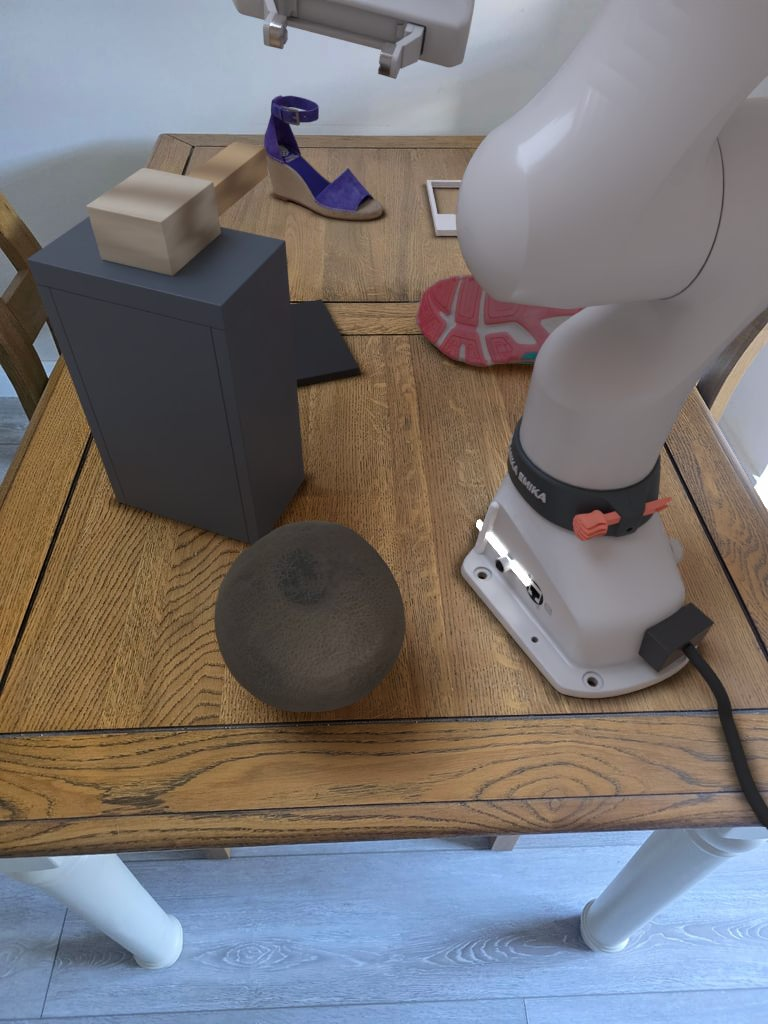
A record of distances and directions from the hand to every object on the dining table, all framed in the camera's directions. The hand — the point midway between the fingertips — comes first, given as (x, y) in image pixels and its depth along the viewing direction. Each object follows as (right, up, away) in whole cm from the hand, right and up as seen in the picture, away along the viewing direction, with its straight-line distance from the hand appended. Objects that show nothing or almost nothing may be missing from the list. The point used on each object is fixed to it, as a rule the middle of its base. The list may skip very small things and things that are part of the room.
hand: (329, 53), depth 56 cm
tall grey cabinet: (-13, -34, +17) cm, 40 cm away
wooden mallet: (-11, -13, 0) cm, 17 cm away
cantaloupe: (-1, -49, +3) cm, 50 cm away
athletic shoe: (+21, -16, +34) cm, 43 cm away
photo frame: (+19, +13, +60) cm, 65 cm away
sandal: (-5, +14, +60) cm, 62 cm away
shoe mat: (-6, -15, +34) cm, 37 cm away
